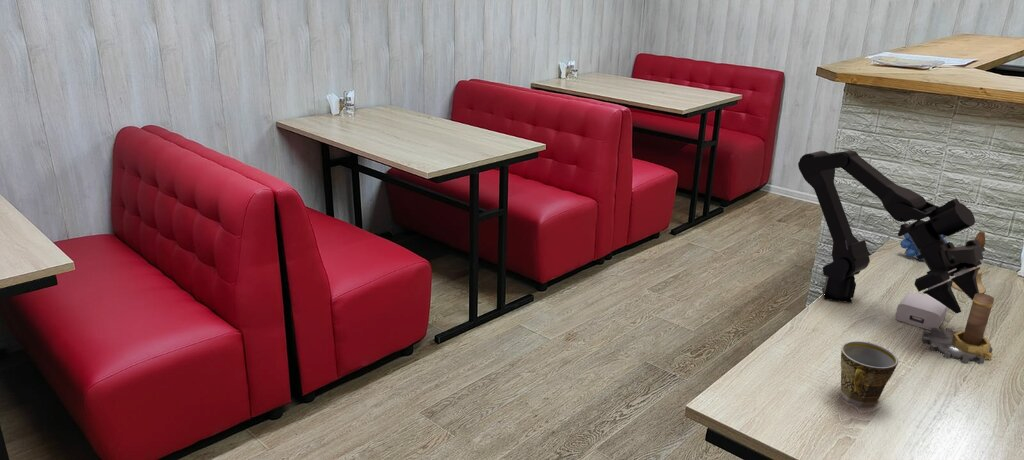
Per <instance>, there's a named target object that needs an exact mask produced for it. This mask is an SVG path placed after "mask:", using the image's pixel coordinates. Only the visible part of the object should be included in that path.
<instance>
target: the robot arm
mask: <svg viewBox="0 0 1024 460" xmlns="http://www.w3.org/2000/svg"><path fill="white" fill-rule="evenodd" d="M797 166H798V170H799V172H800V173H801V176H802V178H803V179H804V180H805V181H804V182H806V183H807V184H808V185H810V186H811V188H813V190H814V193H815V195H816V197H817V202H818V204H819V206H820V208H821V212H822V215H823V217H824V220H825V223H826V226H827V228H828V231H829V233H830V236H831V239H832V249H831V256H832V257H831V258H832V262H830V263H828V264H826V265H823V266H822V272H823V273H822V275H823V276H824V277H825V280H824V285H823V287H821V291H822V295H824V294H825V295H824V296H823V299H824V300H827V301H834V302H842V303H849V304H851V303H852V301H853V300H852V299H854V295H855V290H856V286H857V283H856V278H855V277H856V275H859V274H860V273H861V271H863V270H866V269H867V267H869V264H870V262H871V261H870V256H871V255H872V254H871V253H870V251H869V249H868V247H867V243H866V240H865V239H862V240H860V241H859V240H858V239H857V237H856V236H854V234H853V231H852V229H851V225H850V223H849V220H848V218H847V215H846V212H845V210H844V207H843V204H842V202H841V198H840V195H839V193H838V191H837V188H836V187H837V186H836V185H835V177H836V176H835V175H836V169H840V168H841V169H842V170H843V171H845V172H846V173H847V174H848V175H850V176H851V177H852V178H854V180H855V181H857V182H859V183H860V184H861V185H862V187H863V186H864V187H865V189H867V190H868V191H870V192H871V193H872V194H873V195H875V196H876V197H877V198H878V199H879V200H880V201H881V204H882V206H883V208H884V210H886V212H887V213H888V214H889V215H890V216H891V217H892V218H893V219H894V221H896V222H899V223H902V224H900V226H899V227H900V228H899V230H898V233H897V236H898V237H902V236H903V237H904V235H905V234H908V235H909V236H910V238H911V240H912V241H913V243H914V245H915V246H916V248H917V250H918V251H919V253H920V255H918V256H917V257H918V259H919V260H918V259H917V260H918V261H921V260H920V259H923V260H922V261H923V262H924V263H925V264H926V267H927V268H928V269H929V270H928V271H926V274H924V275H921V276H919V277H918V278H915V281H914V284H913V285H914V286H915V288H916V289H917V291H918V293H920V292H922V293H923V295H924V294H926V295H929V296H931V297H933V298H934V299H936V300H937V301H939V302H940V303H942V304H943V305H945V306H946V307H948V308H947V309H949V310H951V311H952V312H953V313H955V314H959V313H962V309H961V306H960V304H959V303H958V301H957V297H956V296H955V294H954V292H953V290H952V289H953V287H952V283H953V282H954V283H955V284H956V285H957V286H958V287H959V288H960V289H961V290H962V291H963V293H964V294H965V295H966V296H967V297H968V298H969V299H970V300H971V301H973V298H974V296H975V294H976V293H979V290H978V286H977V281H976V275H977V273H978V271H979V270H980V269H981V267H980V265H983V263H982V261H983V260H984V255H983V252H985V251H986V249H985V247H984V248H983V247H982V244H980V243H979V242H978V240H974V239H970V240H968V241H966V243H965V245H961V246H955V245H954V244H953V242H951V241H949V242H948V241H947V242H948V243H946V242H945V240H946V239H945V238H943V237H942V236H941V235H942V234H943V235H944V236H946V237H951V236H953V235H955V234H957V233H959V232H962V231H965V230H966V229H968V228H971V227H973V226H974V225H975V223H976V219H975V215H974V213H973V211H972V210H971V209H970V208H969V207H967V206H966V205H965V204H964V203H961V202H960V201H959V200H958V198H953V199H951V200H948V201H947V202H946V203H945V204H943V205H941V206H938V205H935V204H933V203H931V202H929V201H927V200H926V199H925V198H924V197H923V196H922V195H920V193H918V192H915V191H913V190H912V189H909V188H906V187H904V186H901V185H898V184H896V183H894V181H892V180H891V179H890V178H888V177H887V176H886V175H884V174H883V173H881V171H879V170H878V169H877V168H875V166H873V165H871V164H870V163H869V162H868V161H866V160H865V159H864V158H862V157H861V156H860V155H859V153H858V152H857V151H855V150H853V149H848V150H845V151H840V152H839V151H838V152H832V153H831V152H828V151H826V150H820V151H814V152H810V153H805V154H803V155H801V157H800V159H799V161H798V163H797ZM926 218H929V219H927V220H926V221H925V220H923V219H926ZM909 221H914V222H912V223H910V224H909V223H906V222H909ZM942 239H943V240H942ZM944 239H945V240H944ZM940 240H941V241H940ZM976 266H977V267H978V266H979V267H978V268H976V269H974V268H973V267H976ZM962 291H961V292H962Z"/></svg>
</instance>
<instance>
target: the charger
mask: <svg viewBox="0 0 1024 460" xmlns="http://www.w3.org/2000/svg"><path fill="white" fill-rule="evenodd" d="M948 309H949V308H948V307H946V306H945V305H943V304H942V303H940V302H939V301H937V300H936V299H934V298H933V297H931V296H929V295H928V294H924V293H923V294H921V293H917V292H912V291H909V292H907V293H906V294H905V295H904V297H903V298H902V299H901V301H900V302H899V304H897V306H896V310H895V315H894V318H895V320H897V321H900V322H903V323H906V324H910V325H912V326H915V327H920V328H922V329H926V330H928V331H929V330H930V331H931V329H932V328H937V329H939V328H940V326H941V324H942V322H943V321H944V319H945V318H946V315H947V312H948Z"/></svg>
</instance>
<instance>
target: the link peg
mask: <svg viewBox="0 0 1024 460" xmlns="http://www.w3.org/2000/svg"><path fill="white" fill-rule="evenodd" d="M994 301H995V298H994V296H992V295H989V294H986V293H976V294H975V296H974V298H973V300H971V307H970V310H969V313H968V318H967V321H966V324H965V328H964V331H963V332H964V334H963V338H962V341H964V342H966V343H968V344H972V345H979V346H980V345H981V342H982V339H983V337H984V334H985V332H986V328H987V325H988V321H989V318H990V314H991V312H992V311H991V310H992V308H993V306H994Z"/></svg>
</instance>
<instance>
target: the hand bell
mask: <svg viewBox="0 0 1024 460" xmlns="http://www.w3.org/2000/svg"><path fill="white" fill-rule="evenodd" d="M985 233H986V232H984V231H982V230H981V231H980V230H979V232H978V233H977V235H976V236H975V237H974V239H973V240H978V242H979V243H980V244H982V247H983V248H985V245H986V234H985ZM973 268H974V269H976V268H978V266H976V267H973ZM982 273H983V271H982V269H981V268H980V270H979V271H978V273H977V275H976V281H977V286H978V290H979V293H982V294H985V293H986V287H985V286H984V284H983V281H982V275H983V274H982ZM951 288H952V289H955V290H958V291H959V292H963V291H962V290H961V289H960V288H959V287H958V286H957V285H956V284H955V283H954V282H953V283H952V287H951ZM963 293H964V292H963Z"/></svg>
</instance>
